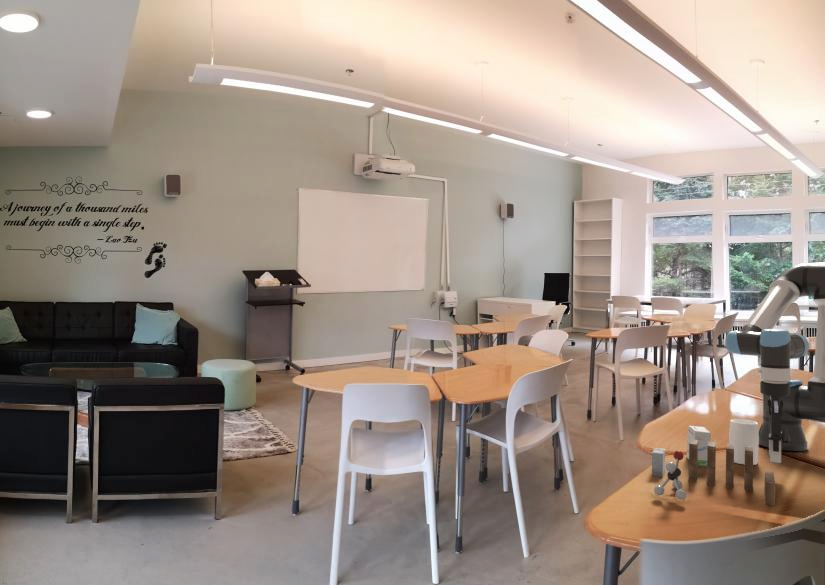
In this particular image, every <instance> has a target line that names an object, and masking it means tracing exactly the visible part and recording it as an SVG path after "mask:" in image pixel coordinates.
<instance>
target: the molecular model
mask: <svg viewBox="0 0 825 585" xmlns="http://www.w3.org/2000/svg"><path fill="white" fill-rule="evenodd" d="M672 456H673V459H675V460H676V461H675V463H674V462H673V461H668V462H667V463H666V462H665V471H667V474H666V476H667V477H666V478H665V480H664V481H663V482H662V483H661V485H660V484H657V485H655V486H654V487H653V492H654V494H655V495H656V496H662V495H664V493H665V488H664V487H665V486H666V485H667V483H669V481H672V482H671V483H672V484H671V485H672V488H673V489H675V497H676V498H677V499H678V500H681V501H682V500H683V501H684V500H685V499H686V498H687V493H686V491H685V490H684V489H682V488H683V486H684V485H683V482H682V481H681V480H680V479H679V477H680V476H681V475H682V470H681V469H680V468H679V463H680V461H682V460H683V459H684V458H685V457H684V453H683V452H682V451H680V450H675V451H674V452H673V454H672Z"/></svg>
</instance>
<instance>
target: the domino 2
mask: <svg viewBox="0 0 825 585" xmlns="http://www.w3.org/2000/svg"><path fill="white" fill-rule="evenodd" d="M716 454H717V442H716V441H715V442H714V441H710V442H708V451H707V467H706V484H707V485H712V486H715V485H716V469H717V468H716V464H717V463H716V462H717V460H716V459H717V458H716V457H717V455H716Z"/></svg>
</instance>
